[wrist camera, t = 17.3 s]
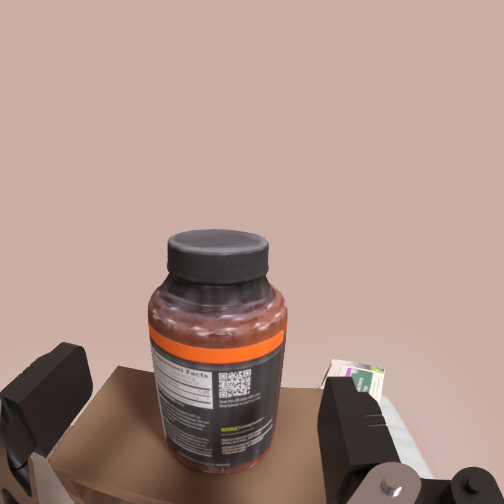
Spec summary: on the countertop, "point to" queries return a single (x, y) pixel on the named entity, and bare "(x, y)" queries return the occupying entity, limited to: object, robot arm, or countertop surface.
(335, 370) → the syrup box
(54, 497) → the countertop surface
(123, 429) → the walnut cubby
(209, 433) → the supplement bottle
